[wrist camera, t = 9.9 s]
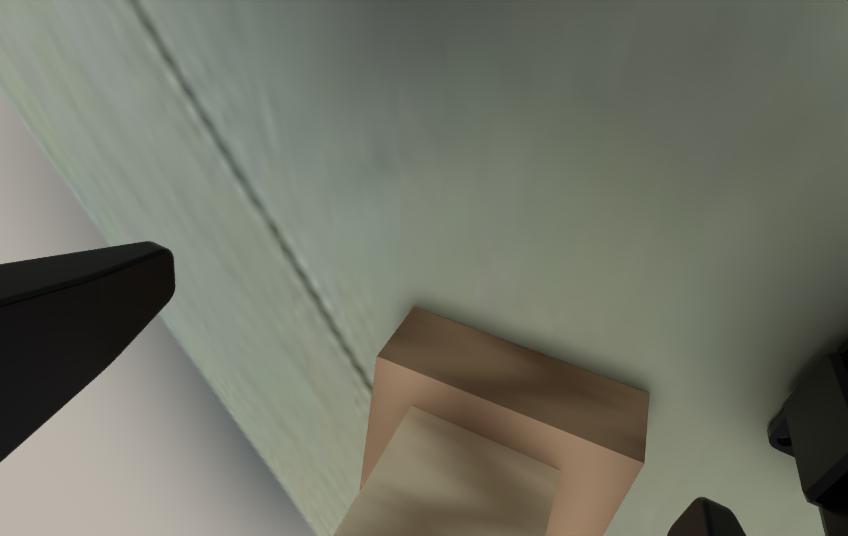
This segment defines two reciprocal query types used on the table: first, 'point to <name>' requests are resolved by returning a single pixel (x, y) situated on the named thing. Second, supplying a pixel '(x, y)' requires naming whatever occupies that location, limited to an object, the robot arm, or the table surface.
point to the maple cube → (451, 486)
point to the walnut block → (515, 412)
